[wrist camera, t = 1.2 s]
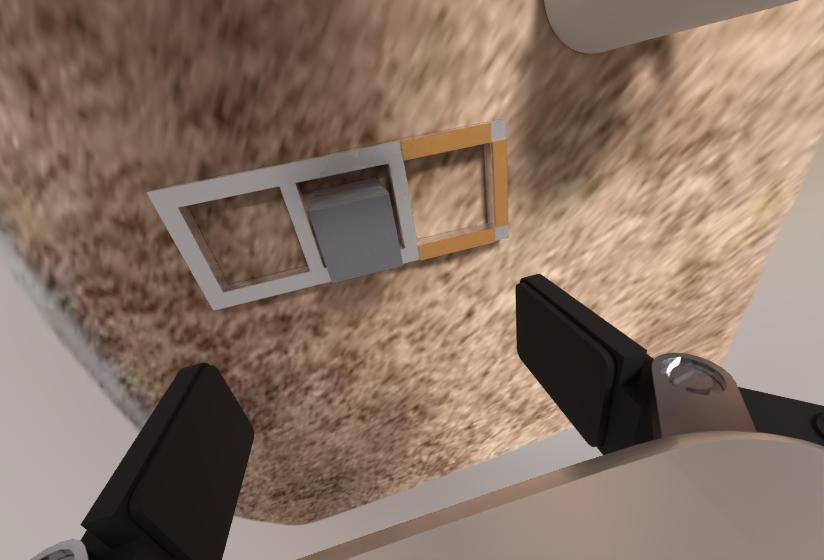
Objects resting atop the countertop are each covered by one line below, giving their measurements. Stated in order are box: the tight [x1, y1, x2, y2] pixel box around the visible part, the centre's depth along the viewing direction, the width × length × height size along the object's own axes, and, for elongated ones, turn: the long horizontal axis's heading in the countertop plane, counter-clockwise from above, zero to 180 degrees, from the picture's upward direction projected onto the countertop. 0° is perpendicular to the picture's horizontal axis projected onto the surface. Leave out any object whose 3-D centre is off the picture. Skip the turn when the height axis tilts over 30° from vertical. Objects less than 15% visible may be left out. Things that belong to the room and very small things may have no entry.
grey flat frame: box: [146, 120, 509, 311], centre depth 23 cm, size 9×23×1 cm, turn 99°
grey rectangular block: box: [308, 177, 403, 283], centre depth 21 cm, size 4×4×6 cm
